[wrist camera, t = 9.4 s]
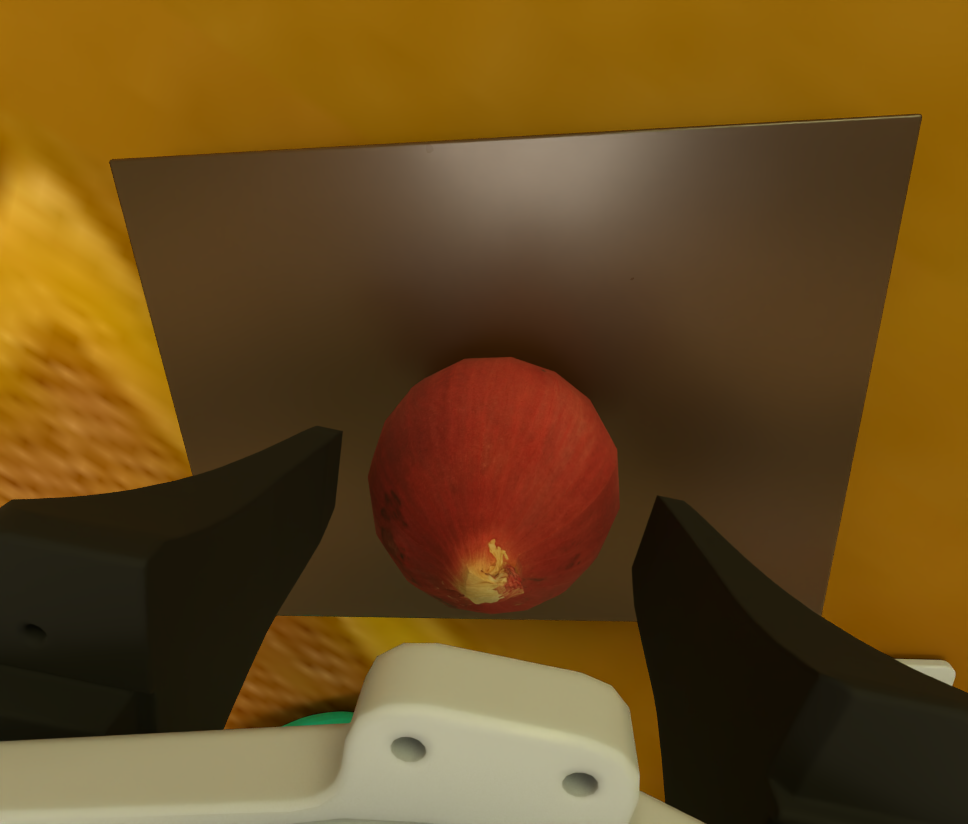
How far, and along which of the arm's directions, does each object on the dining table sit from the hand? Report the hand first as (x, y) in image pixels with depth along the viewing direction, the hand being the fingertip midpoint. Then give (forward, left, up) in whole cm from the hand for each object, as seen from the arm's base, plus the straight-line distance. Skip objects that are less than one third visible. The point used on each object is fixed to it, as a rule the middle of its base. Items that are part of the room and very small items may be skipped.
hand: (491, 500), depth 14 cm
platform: (0, 0, -8) cm, 8 cm away
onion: (0, 0, -5) cm, 5 cm away
